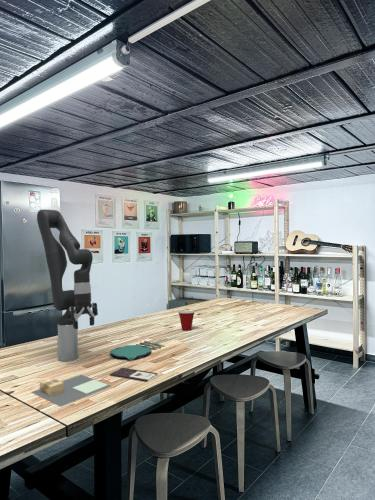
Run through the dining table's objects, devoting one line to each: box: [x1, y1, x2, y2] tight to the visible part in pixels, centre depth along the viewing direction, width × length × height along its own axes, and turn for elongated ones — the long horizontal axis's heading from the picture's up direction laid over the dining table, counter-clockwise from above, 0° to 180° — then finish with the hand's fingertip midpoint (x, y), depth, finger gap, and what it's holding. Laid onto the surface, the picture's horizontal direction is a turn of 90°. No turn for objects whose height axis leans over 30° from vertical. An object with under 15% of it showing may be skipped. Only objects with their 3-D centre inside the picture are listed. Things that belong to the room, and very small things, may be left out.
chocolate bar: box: [109, 367, 158, 383], centre depth 152 cm, size 9×1×18 cm
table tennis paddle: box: [109, 340, 165, 361], centre depth 185 cm, size 20×30×2 cm, turn 145°
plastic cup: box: [177, 310, 196, 332], centre depth 229 cm, size 11×11×12 cm
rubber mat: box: [30, 374, 112, 408], centre depth 137 cm, size 20×22×1 cm
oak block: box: [39, 377, 64, 397], centre depth 134 cm, size 8×5×4 cm, turn 51°
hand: (84, 327), depth 166 cm, fingers open, 8 cm apart
